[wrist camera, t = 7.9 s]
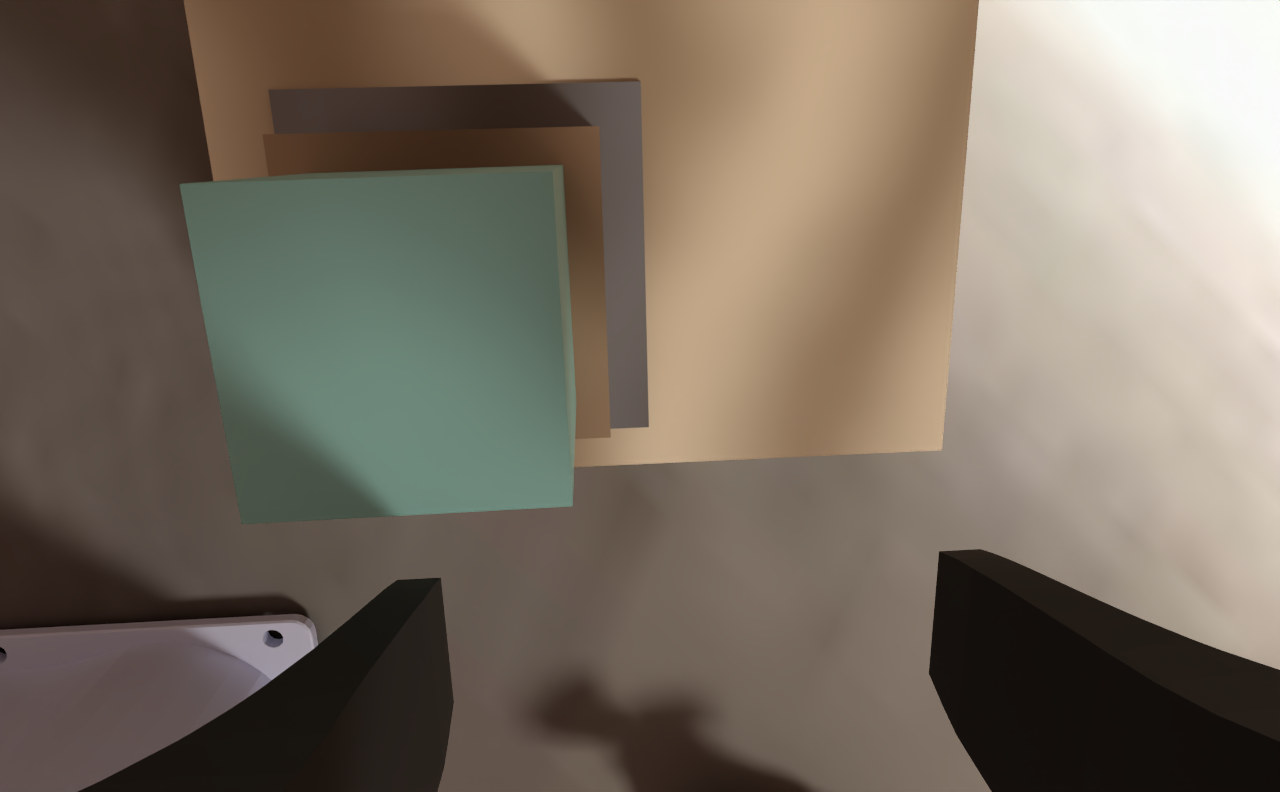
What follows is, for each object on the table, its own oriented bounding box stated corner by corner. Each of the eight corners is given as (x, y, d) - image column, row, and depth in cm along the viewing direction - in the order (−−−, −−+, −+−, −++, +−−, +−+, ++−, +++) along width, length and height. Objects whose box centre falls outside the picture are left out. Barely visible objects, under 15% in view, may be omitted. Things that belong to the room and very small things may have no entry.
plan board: (275, 469, 21) (261, 482, 20) (164, -220, 17) (141, -240, 16) (929, 439, 22) (943, 451, 21) (980, -223, 18) (1001, -242, 17)
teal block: (341, 415, 16) (241, 524, 12) (308, 173, 15) (178, 184, 10) (576, 403, 17) (572, 505, 12) (563, 164, 15) (552, 171, 11)
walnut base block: (355, 400, 20) (308, 450, 17) (321, 137, 18) (262, 134, 15) (607, 389, 20) (610, 437, 17) (596, 130, 19) (599, 126, 15)
